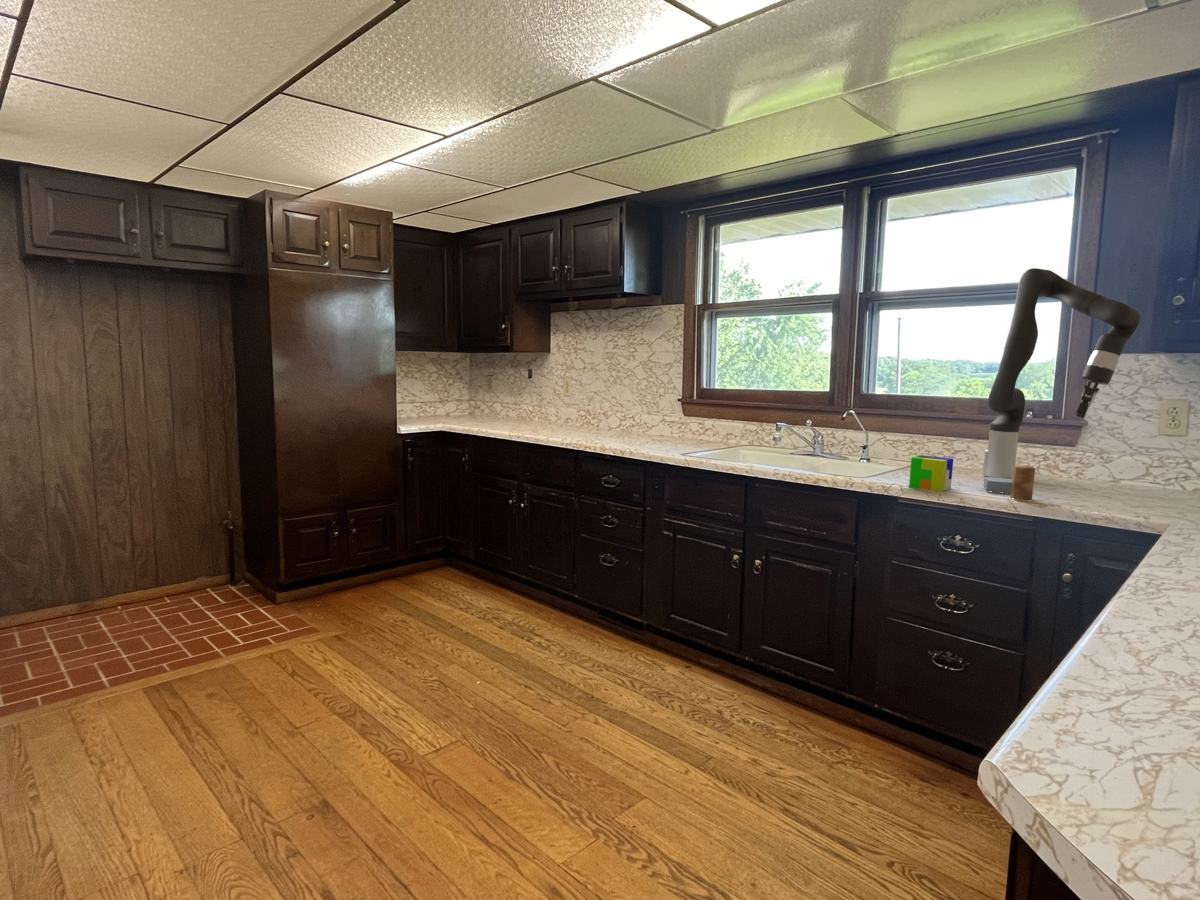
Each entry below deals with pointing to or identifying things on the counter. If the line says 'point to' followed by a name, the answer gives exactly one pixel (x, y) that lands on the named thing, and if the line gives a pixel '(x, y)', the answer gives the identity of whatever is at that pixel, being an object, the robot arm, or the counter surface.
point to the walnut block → (1022, 482)
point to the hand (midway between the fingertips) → (1079, 415)
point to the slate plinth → (997, 484)
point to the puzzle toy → (931, 473)
